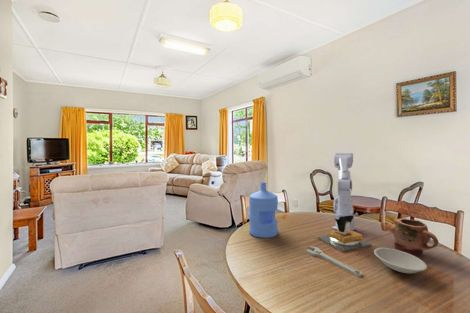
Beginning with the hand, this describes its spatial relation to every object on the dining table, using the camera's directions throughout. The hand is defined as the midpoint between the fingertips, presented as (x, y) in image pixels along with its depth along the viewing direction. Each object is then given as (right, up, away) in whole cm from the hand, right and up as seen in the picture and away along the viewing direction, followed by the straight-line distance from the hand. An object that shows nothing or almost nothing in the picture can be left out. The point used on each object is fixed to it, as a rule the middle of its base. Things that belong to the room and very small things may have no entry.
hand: (343, 230), depth 112 cm
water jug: (-38, -6, +13) cm, 41 cm away
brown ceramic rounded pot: (+25, -7, -11) cm, 28 cm away
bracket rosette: (0, -6, 0) cm, 6 cm away
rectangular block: (0, -3, 0) cm, 3 cm away
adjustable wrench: (-15, -8, -18) cm, 24 cm away
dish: (+9, -7, -25) cm, 28 cm away
